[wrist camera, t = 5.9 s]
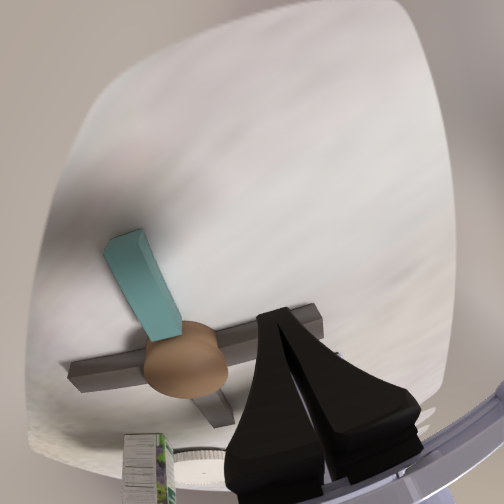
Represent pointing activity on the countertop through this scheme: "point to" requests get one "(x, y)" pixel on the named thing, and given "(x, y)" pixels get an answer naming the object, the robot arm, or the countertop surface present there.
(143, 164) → the countertop surface
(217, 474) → the plastic lid
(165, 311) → the teal rectangular block
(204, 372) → the grey brown t-shaped piece
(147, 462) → the syrup box
